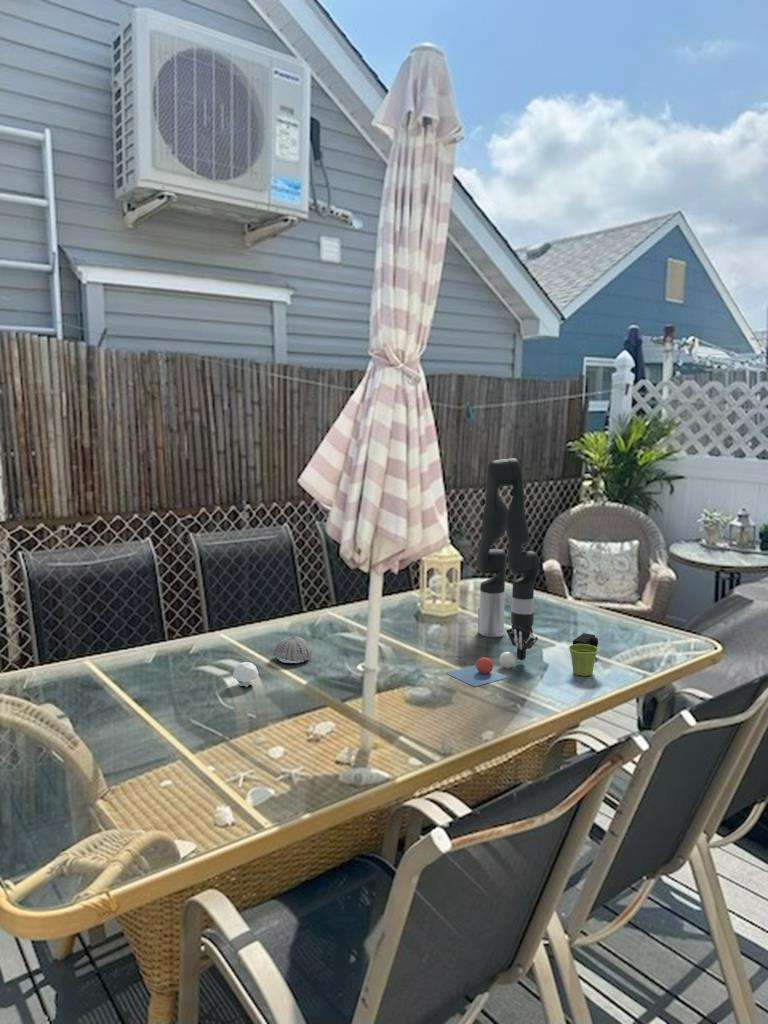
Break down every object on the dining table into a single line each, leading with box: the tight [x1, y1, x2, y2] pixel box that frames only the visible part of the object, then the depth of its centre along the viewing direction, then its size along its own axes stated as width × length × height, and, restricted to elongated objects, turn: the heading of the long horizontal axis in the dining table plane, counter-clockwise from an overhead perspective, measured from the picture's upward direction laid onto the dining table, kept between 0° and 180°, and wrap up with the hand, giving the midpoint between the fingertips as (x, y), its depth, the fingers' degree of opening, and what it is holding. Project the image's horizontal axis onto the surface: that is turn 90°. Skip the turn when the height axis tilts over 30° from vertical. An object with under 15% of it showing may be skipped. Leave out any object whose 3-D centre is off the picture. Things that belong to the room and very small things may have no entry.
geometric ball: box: [232, 661, 259, 682], centre depth 224 cm, size 8×8×8 cm
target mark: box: [446, 665, 508, 688], centre depth 233 cm, size 14×14×1 cm
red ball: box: [475, 656, 494, 674], centre depth 234 cm, size 6×6×6 cm
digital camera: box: [572, 632, 599, 648], centre depth 250 cm, size 10×5×7 cm, turn 145°
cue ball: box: [498, 651, 517, 669], centre depth 240 cm, size 6×6×6 cm
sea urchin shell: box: [273, 636, 313, 661], centre depth 248 cm, size 13×14×8 cm
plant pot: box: [568, 643, 599, 677], centre depth 234 cm, size 9×9×9 cm
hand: (521, 659), depth 244 cm, fingers closed
